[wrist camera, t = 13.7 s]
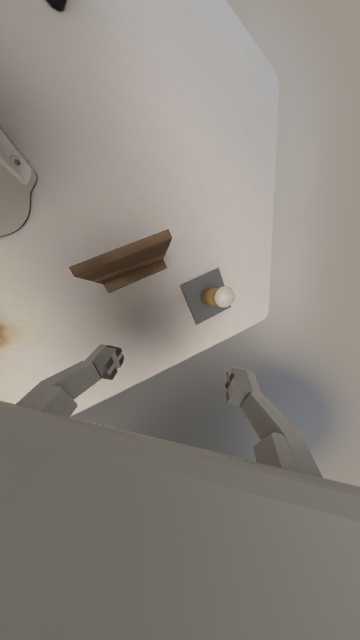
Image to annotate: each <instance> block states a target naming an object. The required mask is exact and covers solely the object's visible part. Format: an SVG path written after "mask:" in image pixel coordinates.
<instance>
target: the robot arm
mask: <svg viewBox="0 0 360 640" xmlns="http://www.w3.org/2000/svg"><path fill="white" fill-rule="evenodd" d="M19 163H21V164H20V165H19V166H18V164H19ZM36 179H37V176H36V173H35V171H34V170H33V169H32V167H31V166H30V165H29V164H28V162H27V161H26V160H25V159H24V157H23V156H22V155H21V153H20V152H19V151H18V150H17V148H16V147H15V146H14V145H13V143H12V142H11V141H10V140H9V138H8V137H7V136H6V135H5V133H4V132H3V131H2V130H1V128H0V236H4V235H7V234H10V233H12V232H14V231H16V230H17V229H19V228H20V227H21V226H22V225H23V223H24V222H25V220H26V219H27V217H28V214H29V209H30V192H31V190H32V188H33V186H34V184H35V182H36ZM121 352H122V349H121V348H119V347H113V346H108V345H103V344H101V345H99V346H98V347H97V348H96V349H95V350H94V352H93V353H92V354H91V355H90V356H89V357H88V358H87V359H86V360H85V361H81V362H79V363H77V364H75V365H73V366H71V367H69V368H67V369H65V370H63V371H61V372H59V373H57V374H55V375H53V376H51V377H49V378H47V379H45V380H43V381H41V382H40V383H39V384H38V385H37V386H35V387H34V388H33V389H32V390H31V391H30V392H29V393H28V394H27V395H26V396H24V397H23V398H22V399H21V400H20V401H19V402H18V403H17V404H12V403H8V402H3V401H0V640H360V487H358V486H354V485H350V484H346V483H342V482H337V481H333V480H329V479H325V478H322V476H321V473H320V471H319V469H318V467H317V465H316V463H315V461H314V459H313V457H312V455H311V452H310V450H309V448H308V446H307V444H306V442H305V440H304V438H303V437H302V436H301V435H300V434H299V433H298V431H297V430H296V429H295V428H294V427H293V426H292V425H291V424H290V423H289V422H288V421H287V420H286V418H285V417H284V416H283V415H282V414H281V413H280V412H279V411H278V410H277V409H276V407H275V406H274V405H273V404H272V403H271V402H270V401H269V400H268V399H267V398H266V397H265V395H262V394H261V391H260V388H259V385H258V383H257V380H256V377H255V374H254V372H253V370H250V369H244V368H238V367H232V366H229V367H228V372H227V373H226V374H225V378H224V382H225V383H224V384H225V387H226V388H227V391H226V400H227V403H230V404H235V405H239V406H240V408H241V409H242V411H243V412H244V414H245V416H246V417H247V419H248V420H249V422H250V424H251V425H252V427H253V428H254V430H255V432H256V433H257V435H258V437H259V438H260V440H261V441H259V442H258V443H256V444H255V445H254V446H253V448H254V452H255V457H256V462H254V461H250V460H246V459H241V458H237V457H233V456H229V455H225V454H221V453H216V452H212V451H207V450H204V449H199V448H195V447H191V446H187V445H183V444H179V443H175V442H170V441H166V440H162V439H158V438H153V437H150V436H145V435H141V434H136V433H133V432H128V431H124V430H120V429H116V428H112V427H108V426H104V425H99V424H95V423H91V422H87V421H83V420H79V419H74V418H70V416H71V414H72V413H73V412H74V410H75V409H76V407H77V403H76V402H75V401H74V399H75V398H76V397H78V396H79V395H80V394H82V393H83V392H84V391H86V390H87V389H88V388H90V387H91V386H92V385H94V384H95V383H96V382H98V381H99V380H100V379H101V378H104V379H110V380H112V379H113V378H114V376H115V375H116V373H117V369H118V368H119V367H121V365H122V363H123V360H124V356H123V354H122V353H121Z"/></svg>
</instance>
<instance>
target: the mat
mask: <svg viewBox="0 0 360 640" xmlns="http://www.w3.org/2000/svg"><path fill="white" fill-rule="evenodd" d="M180 287H181V289H182V291H183V294H184V296H185V299H186V301H187V303H188V306H189V308H190V311H191V313H192V315H193V318H194V320H195V323H196V324H199V323H201V322H203V321H205V320H206V319H208V318H210V317H212V316H214V315H216V314H218V313H220V312H222V311H224V310H226V309H228V308H230V307H231V306H228V307H218V306H214V305H207V304H204V303H202V301H201V299H200V295H201V293H202V291H203V290H205V289H212V288H219V287H224V284H223V281H222V277H221V274H220V271H219V268H218V269H215V270H213V271H211V272H209V273H207V274H204V275H202V276H200V277H198V278H196V279H194V280H191V281H189V282H187V283H185V284H183V285H180Z"/></svg>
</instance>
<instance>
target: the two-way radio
mask: <svg viewBox="0 0 360 640" xmlns="http://www.w3.org/2000/svg"><path fill="white" fill-rule="evenodd" d="M47 1H49V2H50V3H51V4H52V5H53V6H55V7H56V8H63V5H64V0H47Z"/></svg>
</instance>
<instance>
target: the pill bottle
mask: <svg viewBox="0 0 360 640" xmlns="http://www.w3.org/2000/svg"><path fill="white" fill-rule="evenodd" d="M200 299H201V301H202V303H204V304H207V305H214V306H218V307H228V306H230V305H231V304H232V302H233V300H234V293H233V291H232V289H231V288H229V287H226V286H225V287H219V288H212V289H205V290H203V291H202V293H201V295H200Z"/></svg>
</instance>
